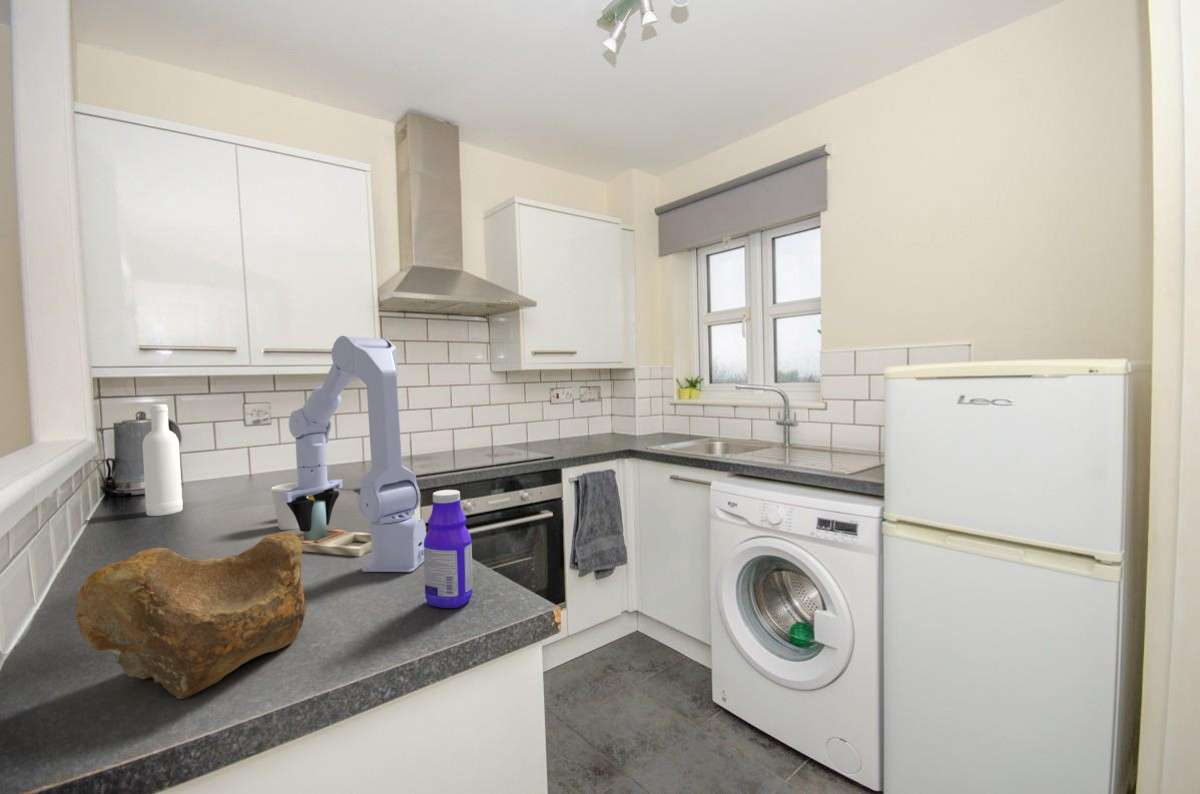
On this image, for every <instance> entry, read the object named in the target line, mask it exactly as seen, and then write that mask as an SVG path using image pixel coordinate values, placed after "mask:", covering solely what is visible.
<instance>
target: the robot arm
mask: <svg viewBox="0 0 1200 794" xmlns="http://www.w3.org/2000/svg"><path fill="white" fill-rule="evenodd" d="M331 359H332V365H331V367H330V369H329V371H328V373H327V375H326V377H325V380H324V381H323V384H322V385H319V386H317V387H315V388H313V390H312V392H311V393H310V395H309V397H308V398H307V400H306V401H305V403H304V405H303V406H302V408H298V409H296V410H293V411H292V412H291V413H290V416H289V420H288V428H289V432H290V434H291V436H292V437H293V438H294V439H295V453H296V454H295V457H296V460H295V461H296V476H297V478H296V479H297V483H298V485H297V486H296V488H293V489H291V490H288V491H285V492H282V493H280V499H281V502H286V504H287V505H288V506H289V508H290V509H291V510H292V512H293V514H294V515H295V517H296V520H297V522H298V525H299V528H298V529H299V531H300V532H309V531H310V530H311V513H312V507H313V504H314V500H308V498H307V496H311V495H313V497H314V499H315V500H325V504H326V526H329V524H330V521H331V516H332V513H333V509H334V506H335V504H336V502H337V500H338V498H339V496H340V491H338V490H339V489H343V487H344V486H343V479H338V478H337V479H335V478H334V479H331V480H328V459H327V458H328V457H327V444H328V443H329V441H330V439H329V435H330V432H331V429H332V422H331V418H332V417H333V416H334V414H335V412H336V411H337V409H338V408H339V407H340V405H341V402H342V396H341V393H342V392H343V390H345V388H346V387H347V385H348V384H349V383H350V382H351V380H352V379H353V378H354V377H355V378H358V379H359V380H360V381H361V382H362V383H364V385H365V386H366V395H367V397H366V398H367V410H368V411H367V415H368V427H369V442H370V443H369V444H370V447H369V448H370V457H371V458H370V461H371V462H370V463H371V468H370V470H369V471H368V472H367V473H366V474H365V476H363V478H362V479H361V481H360V493H359V496H358V500H357V501H358V502H357V504H358V505H357V507H358V509H359V513H360V515H361V517H363V518H364V520H366V522H368V523H369V524H370V526H369V529H370V533H371V551H370V553H371V562H370V563H369V564H367V565H365V566H364V567H363V568H362V569H361V571H362V573H411V572H413V571H415V569H417V568H418V567H419V566H420V565H421V564H424V539H425V536H426V534H427V527H426V526H427V525H426V523H425V521H424V519H423V518H418V517H417V518H416V517H413V516H415V511H416V510H417V509H418V507H419V506H420V502H421V491H420V488H419V486H418V483H417V475H416V473H414V471H412V470H410V469H408V468H407V467H405V466H404V465H403V461H402V446H401V445H402V444H401V428H400V426H401V425H400V412H399V411H400V410H399V395H398V380H397V379H398V378H397V377H398V376H399V372H398V371H399V370H398V354H397V347H396V345H394V343H393V342H392V341H390V340H389V339H388V338H386V337H380V338H378V337H377V338H375V337H359V336H358V337H357V336H348V335H340V336H338V337H337V338H336V340H335V341H334V344H333V347H332V348H331ZM336 489H338V490H336Z"/></svg>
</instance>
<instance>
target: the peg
mask: <svg viewBox="0 0 1200 794" xmlns="http://www.w3.org/2000/svg"><path fill="white" fill-rule="evenodd" d="M327 529H328V528H327V525H326V504H325V500H314V504H313V507H312V513H311V530H310V531H309V532H303V533H304V540H306V541H317V540H319V539H322V538H325V537H327Z"/></svg>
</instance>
